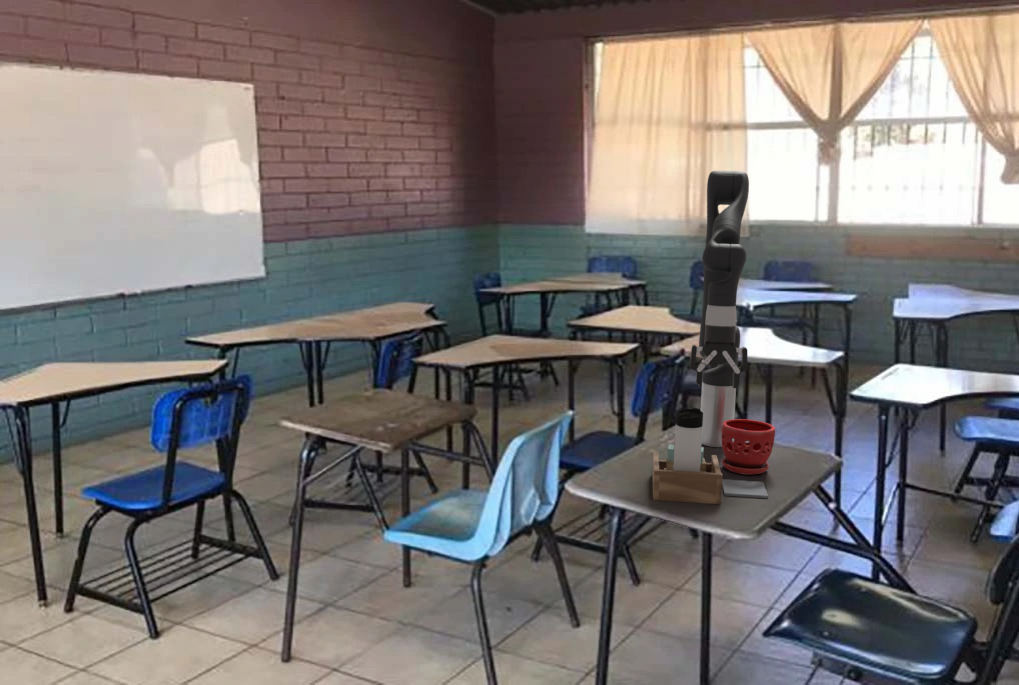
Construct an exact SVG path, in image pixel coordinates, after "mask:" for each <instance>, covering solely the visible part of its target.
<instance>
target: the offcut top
mask: <svg viewBox="0 0 1019 685" xmlns="http://www.w3.org/2000/svg"><path fill="white" fill-rule="evenodd" d="M704 447H705V446H704ZM704 447H703V446H701V463H700V464H702V463H703V458H704V453H705V452H704V450H705V448H704ZM666 457H667V461H674V444H668V446H667V454H666Z"/></svg>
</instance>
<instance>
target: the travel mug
mask: <svg viewBox="0 0 1019 685" xmlns="http://www.w3.org/2000/svg"><path fill="white" fill-rule="evenodd" d="M675 420H676V421H675V428H674V443H673V445H674V461H673V470H676V471H692V472H700V463H701V447H703V446H702V445H703V444H702V428H703V423H702V422H703V412H702V411H701V408H696V407H692V408H685V409H684V408H683V409H679V410H677V412H676V415H675Z"/></svg>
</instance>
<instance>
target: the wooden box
mask: <svg viewBox="0 0 1019 685" xmlns="http://www.w3.org/2000/svg"><path fill="white" fill-rule="evenodd" d="M652 456H653V458H652V476H651V477H652V499H653V501H665V502H666V501H667V502H682V503H696V504H699V503H700V504H710V505H711V504H715V505H721V504H722V494H723V487H722V479H724V478H723V477H724V476H723V475H724V474H723V473H722V472H721V471H722V470H721V468H720V465H719V464H720V463H719V460H718V455H716V454H712V455H711V458H710V459H711V461H710V462H706V470H705V471H706V472H692V471H676V470H664V468H666V459H659V452H658V451H653V455H652Z"/></svg>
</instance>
